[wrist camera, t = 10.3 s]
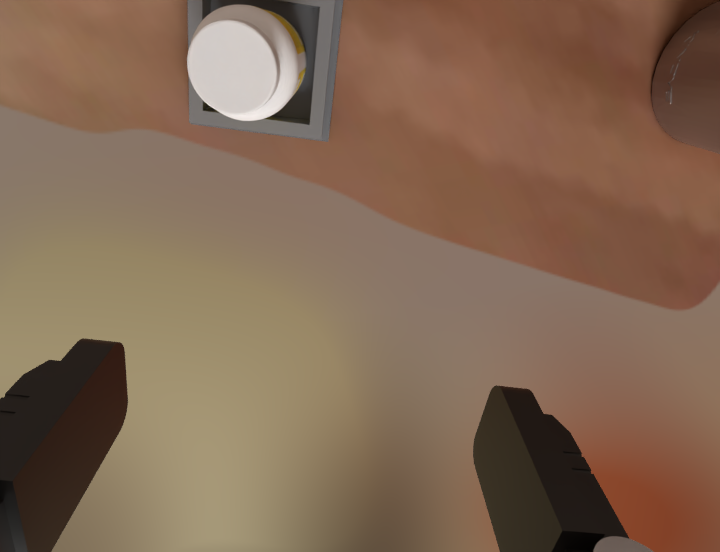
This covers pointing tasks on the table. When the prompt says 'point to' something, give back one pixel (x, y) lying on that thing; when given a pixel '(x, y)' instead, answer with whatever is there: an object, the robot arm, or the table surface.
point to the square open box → (315, 95)
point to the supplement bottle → (246, 61)
